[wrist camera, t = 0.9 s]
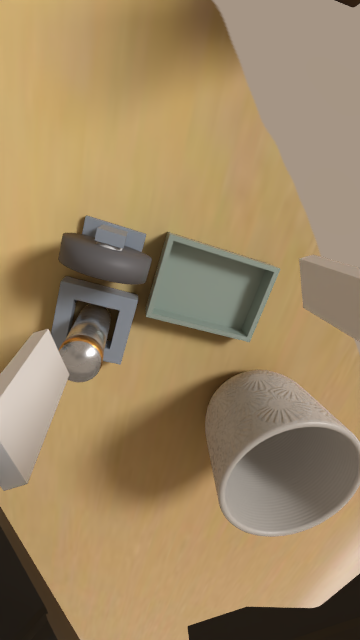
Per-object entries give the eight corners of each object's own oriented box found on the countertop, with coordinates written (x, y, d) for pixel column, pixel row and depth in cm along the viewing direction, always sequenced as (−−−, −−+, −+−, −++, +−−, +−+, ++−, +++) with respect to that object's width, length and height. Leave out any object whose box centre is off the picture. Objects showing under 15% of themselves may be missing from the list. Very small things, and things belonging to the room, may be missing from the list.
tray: (145, 308, 39) (145, 316, 36) (167, 231, 36) (170, 233, 33) (242, 333, 42) (249, 342, 39) (270, 264, 39) (280, 268, 36)
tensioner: (53, 341, 39) (27, 383, 29) (78, 212, 34) (55, 214, 24) (121, 355, 41) (116, 399, 31) (154, 236, 36) (159, 246, 26)
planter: (308, 416, 49) (377, 500, 35) (217, 457, 50) (248, 556, 36) (281, 334, 43) (351, 396, 29) (175, 382, 43) (194, 466, 29)
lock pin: (75, 328, 38) (50, 378, 27) (82, 299, 37) (58, 338, 26) (108, 336, 39) (96, 386, 28) (115, 307, 38) (106, 348, 27)
